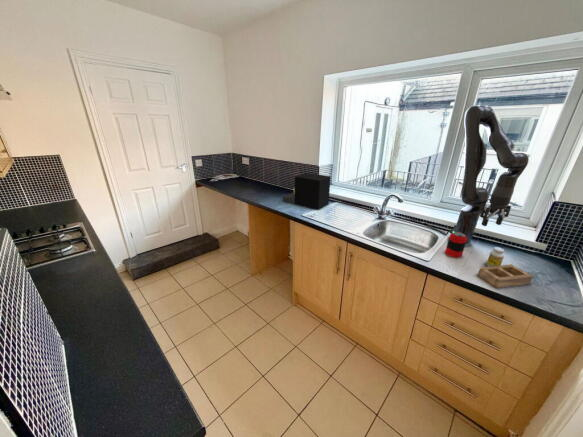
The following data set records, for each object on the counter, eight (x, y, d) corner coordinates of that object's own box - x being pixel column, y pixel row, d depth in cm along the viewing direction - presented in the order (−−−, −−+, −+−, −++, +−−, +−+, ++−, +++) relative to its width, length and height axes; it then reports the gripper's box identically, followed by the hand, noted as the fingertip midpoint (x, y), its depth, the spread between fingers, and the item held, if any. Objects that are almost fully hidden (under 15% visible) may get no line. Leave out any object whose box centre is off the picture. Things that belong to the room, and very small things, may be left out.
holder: (477, 275, 114) (480, 267, 112) (508, 271, 116) (511, 264, 115) (496, 288, 105) (500, 280, 103) (529, 283, 108) (533, 276, 106)
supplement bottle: (502, 267, 119) (508, 250, 116) (495, 269, 117) (502, 252, 114) (490, 261, 124) (496, 245, 120) (483, 264, 122) (489, 247, 118)
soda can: (447, 256, 128) (453, 236, 123) (443, 249, 135) (448, 230, 130) (463, 258, 126) (470, 238, 122) (458, 251, 133) (464, 232, 128)
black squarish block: (294, 196, 222) (294, 170, 213) (328, 204, 204) (330, 176, 195) (282, 201, 209) (282, 174, 200) (318, 210, 190) (319, 180, 181)
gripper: (506, 191, 123) (495, 221, 129) (482, 193, 120) (472, 223, 127) (521, 196, 116) (509, 227, 122) (496, 197, 113) (485, 229, 120)
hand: (490, 225), depth 124 cm, fingers open, 8 cm apart
